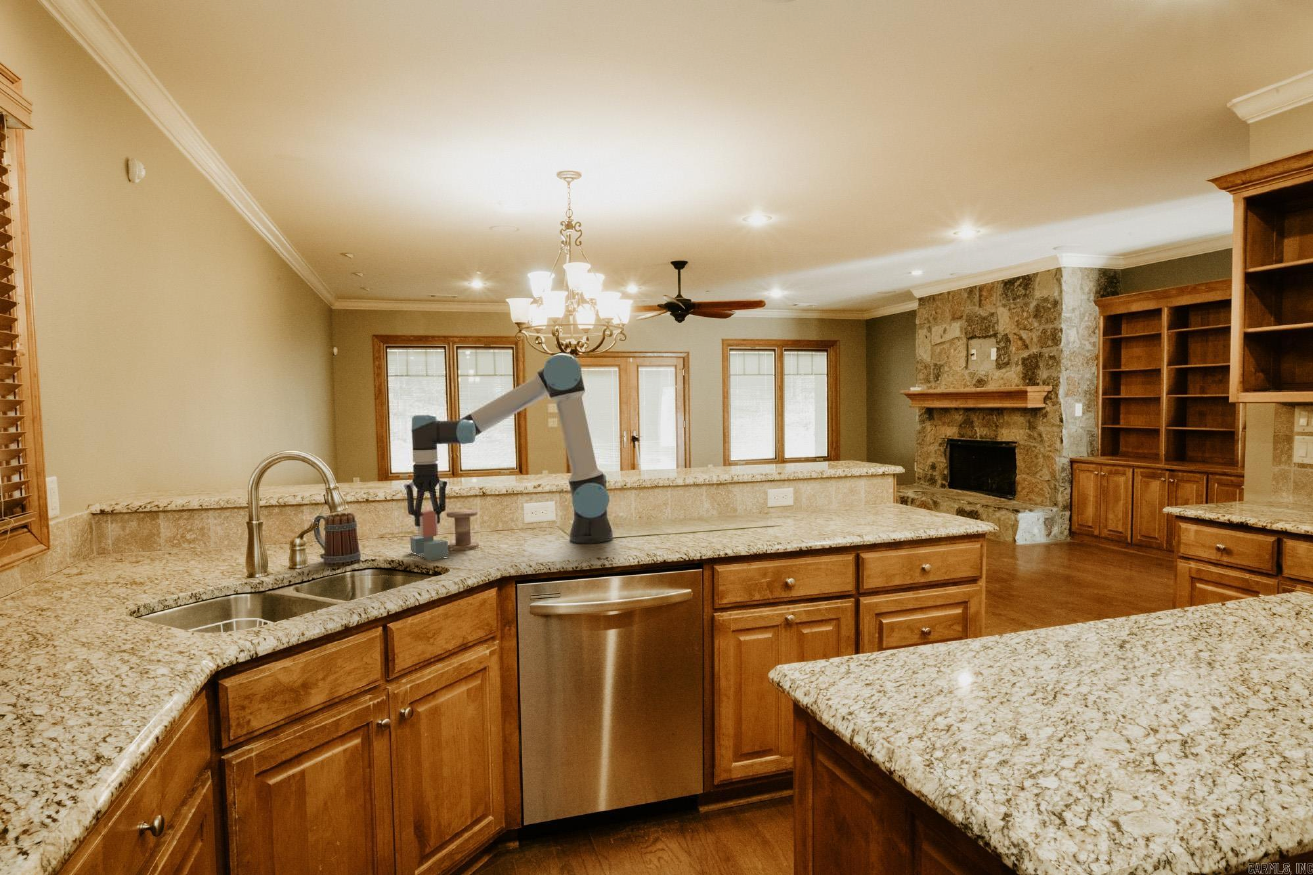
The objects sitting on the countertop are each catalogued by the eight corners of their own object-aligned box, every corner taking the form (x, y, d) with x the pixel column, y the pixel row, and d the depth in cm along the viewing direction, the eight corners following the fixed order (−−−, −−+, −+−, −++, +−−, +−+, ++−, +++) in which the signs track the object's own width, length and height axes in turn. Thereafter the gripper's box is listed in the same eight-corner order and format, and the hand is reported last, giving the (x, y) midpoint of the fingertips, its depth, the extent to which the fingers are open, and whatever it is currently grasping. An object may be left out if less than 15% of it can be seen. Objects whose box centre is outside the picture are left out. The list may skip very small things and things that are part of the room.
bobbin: (483, 547, 229) (482, 512, 228) (455, 552, 223) (454, 515, 222) (470, 542, 237) (469, 508, 236) (443, 547, 230) (441, 512, 230)
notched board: (448, 557, 215) (447, 541, 215) (429, 560, 211) (429, 544, 211) (428, 549, 227) (428, 534, 227) (410, 552, 223) (410, 537, 223)
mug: (368, 559, 214) (366, 512, 214) (343, 567, 205) (340, 518, 204) (329, 557, 220) (327, 511, 219) (303, 564, 210) (300, 516, 209)
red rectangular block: (436, 535, 218) (435, 511, 218) (424, 537, 216) (423, 512, 215) (431, 534, 222) (430, 509, 221) (419, 535, 219) (418, 511, 218)
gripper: (446, 460, 226) (448, 529, 227) (394, 464, 215) (397, 537, 216) (455, 461, 220) (457, 533, 221) (402, 465, 209) (405, 540, 210)
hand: (427, 534), depth 219 cm, fingers closed on red rectangular block, 4 cm apart
